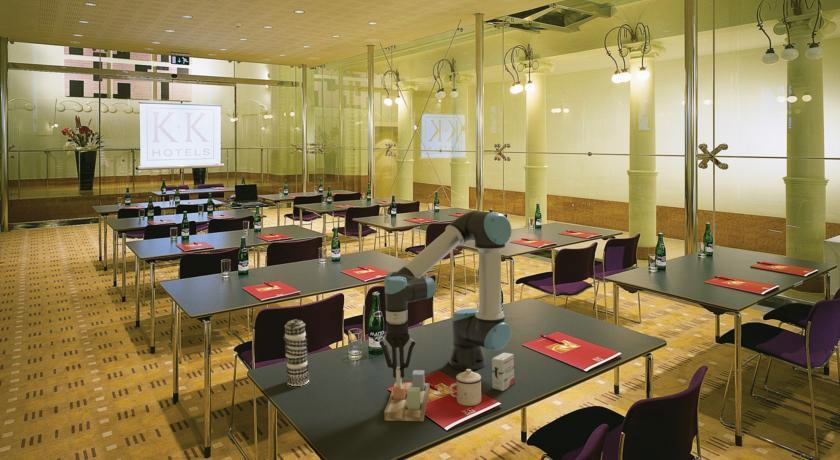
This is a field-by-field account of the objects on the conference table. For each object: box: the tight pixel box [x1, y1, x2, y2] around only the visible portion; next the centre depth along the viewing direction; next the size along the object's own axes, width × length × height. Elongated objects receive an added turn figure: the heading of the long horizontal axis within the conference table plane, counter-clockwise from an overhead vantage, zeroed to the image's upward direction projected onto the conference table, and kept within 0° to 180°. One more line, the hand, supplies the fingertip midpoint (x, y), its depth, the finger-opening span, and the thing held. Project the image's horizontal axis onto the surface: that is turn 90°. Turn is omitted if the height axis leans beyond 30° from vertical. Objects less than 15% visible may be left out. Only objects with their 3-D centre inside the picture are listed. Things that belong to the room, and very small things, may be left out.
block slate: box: [411, 369, 426, 391], centre depth 204 cm, size 4×4×6 cm
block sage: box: [407, 387, 421, 410], centre depth 190 cm, size 4×4×6 cm
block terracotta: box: [392, 383, 406, 400], centre depth 198 cm, size 4×4×6 cm
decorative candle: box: [283, 318, 310, 387], centre depth 219 cm, size 9×9×25 cm
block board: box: [383, 382, 431, 422], centre depth 198 cm, size 13×24×3 cm, turn 174°
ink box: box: [491, 352, 515, 392], centre depth 211 cm, size 8×5×12 cm, turn 140°
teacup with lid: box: [448, 369, 483, 407], centre depth 199 cm, size 12×9×12 cm
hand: (399, 385), depth 197 cm, fingers closed
